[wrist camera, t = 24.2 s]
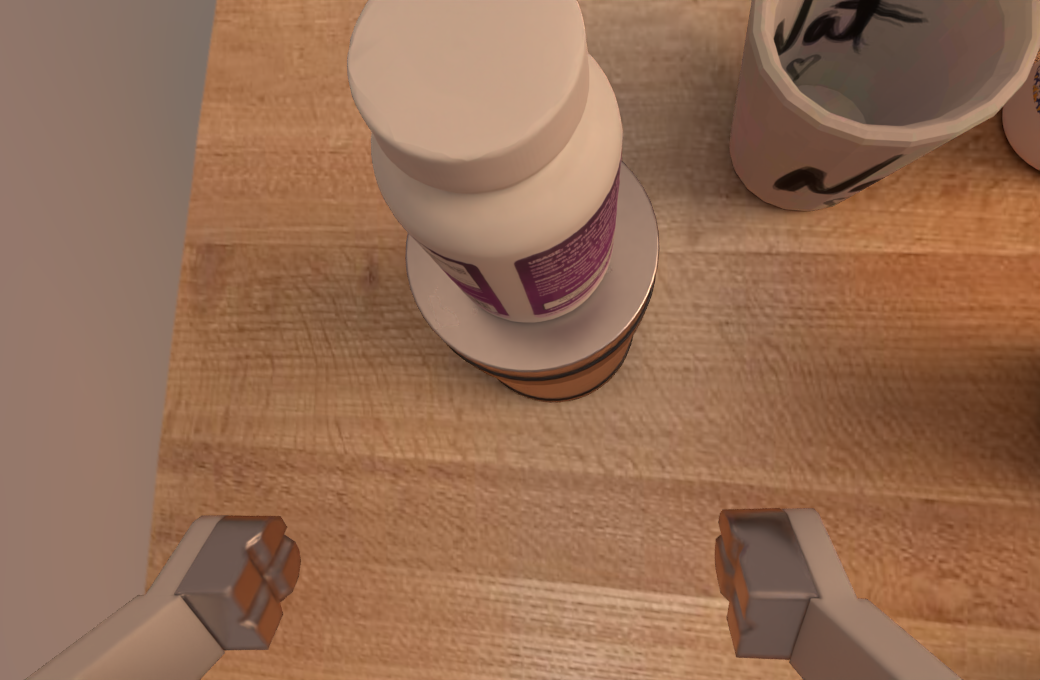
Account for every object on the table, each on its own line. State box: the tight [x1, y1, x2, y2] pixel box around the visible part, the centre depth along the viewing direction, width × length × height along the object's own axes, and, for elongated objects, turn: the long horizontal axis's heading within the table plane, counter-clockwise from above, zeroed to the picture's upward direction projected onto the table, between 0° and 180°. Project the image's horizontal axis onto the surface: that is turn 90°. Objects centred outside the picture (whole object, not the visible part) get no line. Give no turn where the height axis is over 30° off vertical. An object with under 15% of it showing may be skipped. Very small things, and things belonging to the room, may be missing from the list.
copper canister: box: [405, 161, 659, 402], centre depth 25 cm, size 9×9×13 cm
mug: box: [729, 0, 1040, 211], centre depth 27 cm, size 10×15×10 cm
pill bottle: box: [347, 0, 623, 323], centre depth 14 cm, size 5×5×10 cm
